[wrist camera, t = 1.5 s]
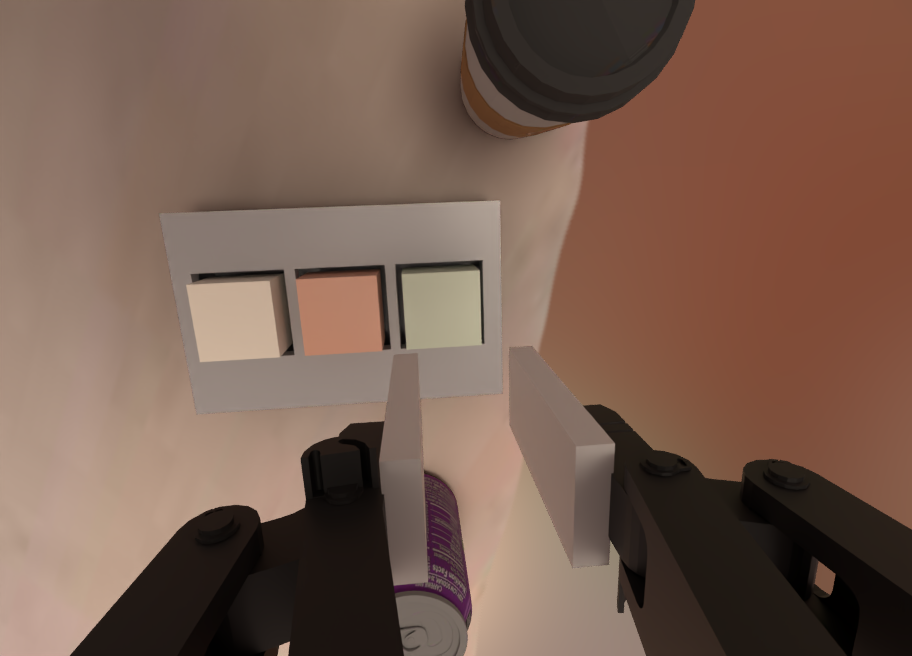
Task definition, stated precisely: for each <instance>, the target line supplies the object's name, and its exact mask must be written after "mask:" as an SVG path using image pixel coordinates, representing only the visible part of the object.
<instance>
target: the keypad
mask: <svg viewBox="0 0 912 656" xmlns="http://www.w3.org/2000/svg"><path fill="white" fill-rule="evenodd" d="M159 216H160V222H161V227H162V232H163V238H164V243H165V248H166V254H167V259H168V264H169V270H170V275H171V280H172V286H173V291H174V296H175V302H176V307H177V312H178V318H179V323H180V328H181V334H182V339H183V344H184V350H185V355H186V361H187V366H188V371H189V377H190V382H191V387H192V393H193V398H194V403H195V409H196V414H210V413H225V412H239V411H254V410H269V409H283V408H298V407H313V406H327V405H342V404H357V403H371V402H386V401H387V399H388V392H389V385H390V378H391V370H392V363H393V356H394V355H395V354H411V353H418V367H419V384H420V399H430V398H444V397H459V396H474V395H488V394H503V375H502V303H501V231H500V200H497V201H471V202H444V203H418V204H392V205H365V206H339V207H313V208H286V209H260V210H234V211H207V212H181V213H159ZM471 264H473V265H475V266H476V267H477V268H478V269H479V270H480V300H481V340H482V345H476V346H460V347H443V348H427V349H410V350H407V348H406V333H405V318H404V303H403V288H402V269H403V268H409V267H429V266H450V265H471ZM367 269H380V275H381V288H382V301H383V314H384V327H385V341H384V346H383V350H382V351H377V352H361V353H344V354H328V355H311V356H305V352H304V344H303V336H302V328H301V320H300V311H299V303H298V295H297V287H296V279H297V278H299V277H301V276H302V275H304V274H305V273H307V272H325V271H346V270H367ZM283 273H284V278H285V286H286V293H287V301H288V309H289V317H290V325H291V333H292V340H293V343H292V344H291V346H290V347H289V348H288V349H287V350H286V351H285V352H284V353H283V354H282V356H281V357H278V358H262V359H245V360H229V361H212V362H200V359H199V354H198V348H197V343H196V337H195V332H194V326H193V321H192V315H191V309H190V304H189V298H188V293H187V287H186V285H187V284H190V283H193V282H196V281H199V280H202V279H205V278H208V277H220V276H241V275H262V274H283Z"/></svg>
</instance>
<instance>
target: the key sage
mask: <svg viewBox="0 0 912 656" xmlns="http://www.w3.org/2000/svg"><path fill="white" fill-rule="evenodd" d="M402 288H403V303H404V318H405V333H406V348H407V350H410V349H427V348H443V347H460V346H476V345H482V340H481V300H480V270H479V269H478V268H477V267H476V266H475V265H473V264H471V265H450V266H429V267H409V268H403V269H402Z"/></svg>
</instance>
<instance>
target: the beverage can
mask: <svg viewBox="0 0 912 656" xmlns="http://www.w3.org/2000/svg"><path fill="white" fill-rule="evenodd" d="M424 488H425V514H426V540H427V566H428V582H425V583H415V584H405V585H394V590H395V597H396V604H397V611H398V617H399V624H400V631H401V638H402V644H403V651H404V656H463V655H464V653H465V651H466V647H467V641H468V635H467V630H468V628H469V625H470V621H471V616H472V603H471V596H470V589H469V582H468V575H467V568H466V561H465V554H464V547H463V540H462V534H461V527H460V520H459V513H458V506H457V502H456V499H455V497H454V495H453V493H452V491H451V490H450V489H449V488H448V486H447V485H445V484H444V483H443V482H442V481H440V480H439V479H437V478H435V477H433V476H430V475H427V474H424Z"/></svg>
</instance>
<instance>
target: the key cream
mask: <svg viewBox="0 0 912 656" xmlns="http://www.w3.org/2000/svg"><path fill="white" fill-rule="evenodd" d="M186 287H187V293H188V298H189V304H190V309H191V315H192V321H193V326H194V332H195V337H196V343H197V348H198V354H199V359H200V362H212V361H229V360H245V359H262V358H278V357H281V356H282V354H283V353H284V352H285V351H286V350H287V349H288V348H289V347H290V346H291V344H292V343H293V340H292V333H291V325H290V317H289V309H288V301H287V293H286V286H285V278H284V273H283V274H262V275H241V276H220V277H208V278H205V279H202V280H199V281H196V282H193V283H190V284H187V285H186Z"/></svg>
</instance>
